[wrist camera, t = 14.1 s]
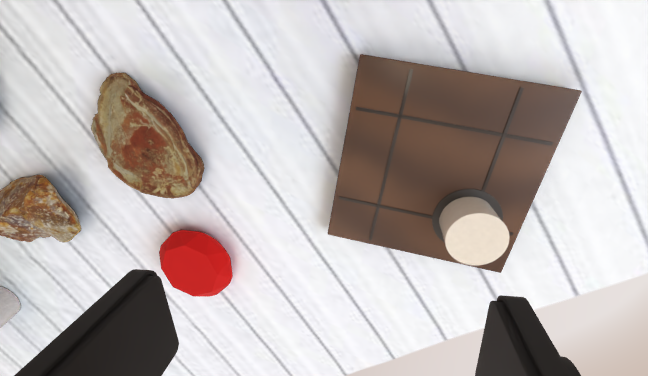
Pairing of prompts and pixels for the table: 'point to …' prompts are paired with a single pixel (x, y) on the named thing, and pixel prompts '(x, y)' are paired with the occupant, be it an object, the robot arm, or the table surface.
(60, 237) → the decorative stone
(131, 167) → the stone
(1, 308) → the house plant
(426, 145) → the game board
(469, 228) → the cream cylinder puck
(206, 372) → the table surface
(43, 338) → the table surface
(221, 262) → the gemstone
